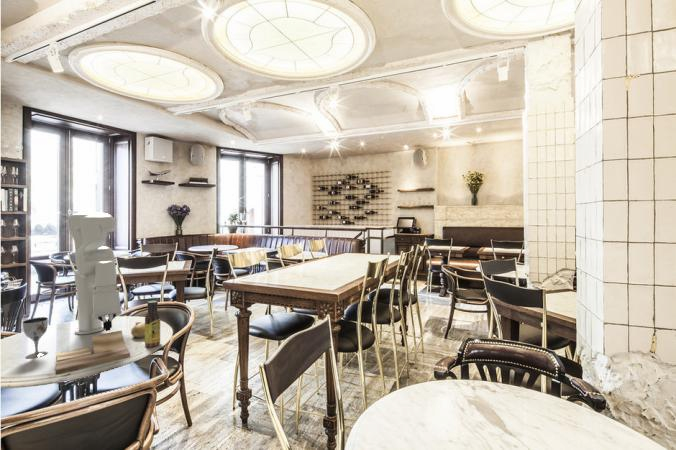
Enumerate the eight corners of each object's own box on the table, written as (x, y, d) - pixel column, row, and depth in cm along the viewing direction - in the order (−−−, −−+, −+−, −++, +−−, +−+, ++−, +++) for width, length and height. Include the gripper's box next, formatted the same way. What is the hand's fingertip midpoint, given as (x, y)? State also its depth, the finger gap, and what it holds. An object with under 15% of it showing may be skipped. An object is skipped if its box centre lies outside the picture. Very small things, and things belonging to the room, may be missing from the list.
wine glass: (53, 352, 146) (52, 318, 145) (31, 360, 139) (30, 324, 138) (41, 350, 149) (40, 316, 148) (19, 357, 141) (17, 322, 141)
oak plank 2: (92, 338, 149) (92, 336, 148) (121, 332, 156) (121, 330, 155) (94, 355, 142) (94, 353, 142) (124, 348, 150) (125, 346, 149)
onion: (150, 332, 170) (150, 318, 170) (149, 337, 163) (149, 323, 163) (132, 335, 167) (131, 320, 167) (130, 340, 160) (129, 325, 159)
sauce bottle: (153, 348, 150) (152, 304, 149) (141, 347, 152) (140, 303, 151) (164, 342, 157) (163, 300, 156) (152, 341, 158) (151, 299, 157)
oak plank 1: (56, 357, 142) (56, 353, 142) (89, 350, 150) (89, 347, 150) (57, 364, 135) (57, 360, 135) (91, 356, 142) (91, 353, 142)
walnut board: (55, 365, 134) (55, 362, 134) (126, 349, 149) (126, 346, 149) (55, 373, 127) (55, 370, 127) (130, 356, 142) (130, 352, 142)
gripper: (124, 285, 158) (125, 324, 158) (84, 290, 148) (86, 331, 149) (127, 287, 152) (128, 328, 153) (85, 293, 143) (87, 336, 143)
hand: (107, 329), depth 151 cm, fingers closed
